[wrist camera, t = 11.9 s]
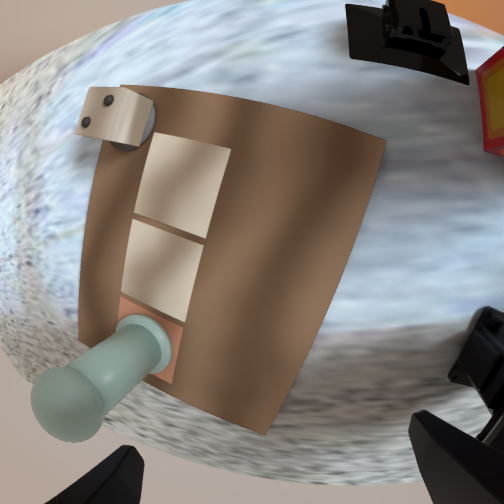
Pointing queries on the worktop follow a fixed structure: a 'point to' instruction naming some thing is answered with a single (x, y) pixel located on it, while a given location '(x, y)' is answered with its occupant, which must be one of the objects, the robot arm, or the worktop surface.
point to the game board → (220, 236)
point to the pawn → (99, 378)
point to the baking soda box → (492, 102)
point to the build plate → (408, 37)
